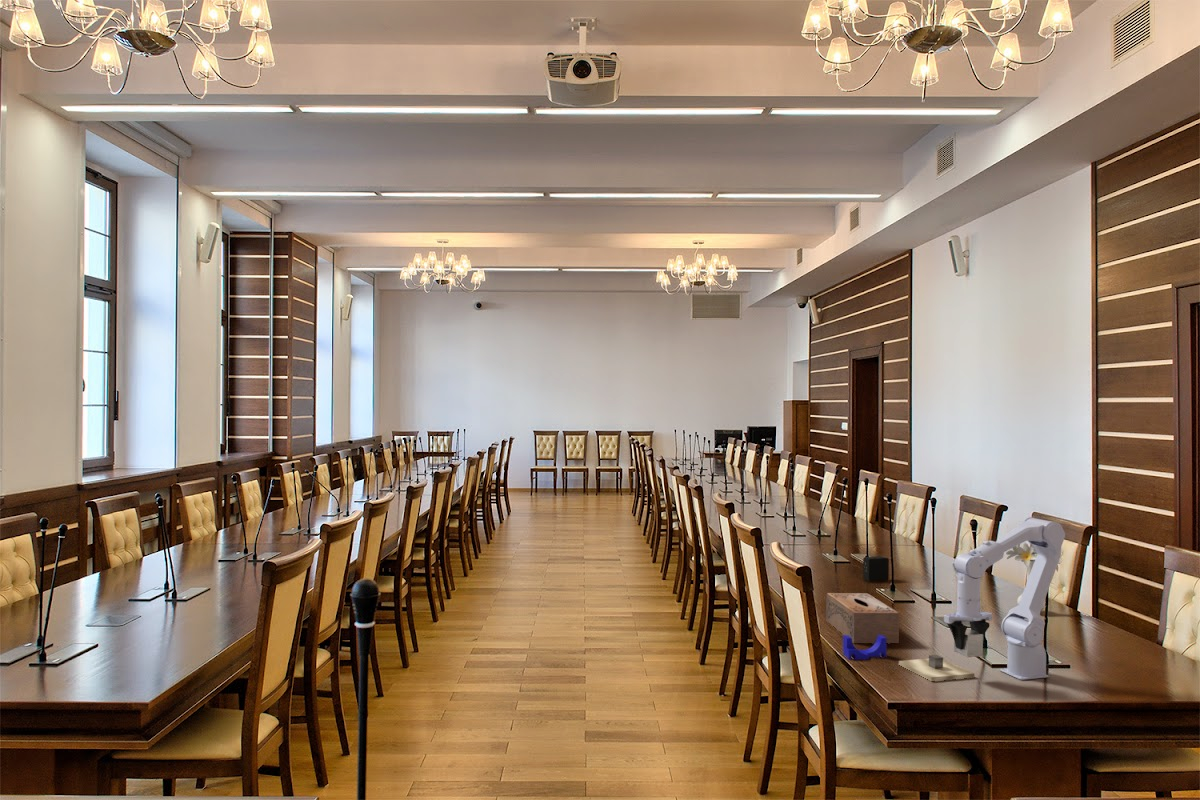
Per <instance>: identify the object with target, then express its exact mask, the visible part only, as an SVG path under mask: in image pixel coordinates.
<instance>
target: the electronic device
mask: <svg viewBox="0 0 1200 800" xmlns="http://www.w3.org/2000/svg"><path fill="white" fill-rule="evenodd" d="M862 560H863V561H862V563H863V564H862V580H863V581H866V582H868V581H869V583H874V582H873V581H882V582H888V581H889V579H890V577H889V576H890V575H889V572H890V571H889V569H890V567H889V565H890V561H889V560H890V558H889V557H886V556H881V555H879V556H877V555H876V556H864V557H863V559H862Z"/></svg>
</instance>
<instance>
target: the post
mask: <svg viewBox="0 0 1200 800" xmlns="http://www.w3.org/2000/svg"><path fill="white" fill-rule="evenodd" d="M928 658H929V666H930V667H932V668H934V669H940V668H943V659H944V657H942V656H940V655H938V654H931V655H928Z"/></svg>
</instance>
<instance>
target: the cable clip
mask: <svg viewBox="0 0 1200 800" xmlns="http://www.w3.org/2000/svg"><path fill="white" fill-rule="evenodd" d="M842 636H843V637H842V639H843V640H842V647H843V648H842V655H843V654H844V655H845V656H846V657H847V659H848V660H869V659H870V658H869V657H880V655H881V656H882V657H886V658H887V644H886V637H884V636H883V635H877V640H876V643H875V644H872V646H871V647H870V648H866V649H858V648H856V646H855V644H853V643H852V638H851V637H850V636H848V635H843V634H842ZM844 655H843V656H844ZM845 656H844V657H845ZM851 656H852V657H853V658H854V659H852V658H851ZM882 657H880V659H883V658H882Z"/></svg>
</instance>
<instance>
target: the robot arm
mask: <svg viewBox="0 0 1200 800" xmlns="http://www.w3.org/2000/svg"><path fill="white" fill-rule="evenodd" d="M1066 535H1067V534H1066V533H1065V530H1064V528H1063V527H1062V525H1061V524H1060V523H1059V522H1057V521H1055V520H1054V521H1050V520H1046V519H1040V518H1035V517H1032V516H1027V517H1026V518H1025V519H1023V520H1020V521H1019V522H1018V523H1017V526H1016V527H1014V528H1013V529H1012V530H1010V531H1009V532H1007V533H1005V534H1004V535H1003V536H1001V537H1000V538H998V539H997V540H995V541H994V540H984V541H982V544H981V545H979V546H978V547H976V548H974V549H971V550H969V552H967V553H960V554H959V555H958V556H956V557H955V559H954V562H952V568H953V570H954V571H955V575H956V580H957V586H956V588H957V592H956V593H957V594H956V595H957V596H956V597H957V599H956V612H951V613H950V614H944V615H943V622H944V623H946V624H947V626H948V628H949V630H950V632H951V635H952V637H953V640H954V641H955V646H956V648H958V649H961V650H963V648H964V637H965V632H966V629H968V626H966V625H964V624H963V623H966V622H968V623H969V625H970V629H971V630H974V631H976V632H979V633H981V634H983V637H984V636H985V635H986V632H987V631H988V629H989V628H990V622H992V621H993V613H991V612H987V611H981V577H984V575H985V573H986V570H987V569H989V567H991V566H993V565H994V564H996V563H997V562H999V561H1001V560H1002V559H1004V556H1005V555H1004V554H1005V552H1008V551H1010V550H1012V549H1013V547H1015V546H1018V545H1019V544H1020V545H1021V544H1024V543H1026V542H1028V543H1029V544H1030V545H1031V546H1032V547H1033V548H1035V550H1036V552H1037V556H1036V559H1035V562H1034V564H1033V567H1032V570H1031V573H1030V575H1029V578H1028V581H1027V580H1026V582H1027V583H1026V584H1025V586H1024V589H1023V591H1022V593H1023V594H1022V593H1021V594H1022V597H1021V600H1020V602H1019V605H1018V604H1017V605H1016V606H1014V607H1012V608H1010V609H1009V611H1008V613H1007V614H1006V616H1005V617H1004V618H1003V619H1002V622H1001V627H1000V629H1001V631H1002V633H1003V635H1004V636H1005V640H1007V642H1006V643H1007V647H1006V650H1007V652H1006V653H1007V656H1006V659H1007V663H1006V664H1007V665H1006V666H1007V667H1006V668H1005V667H1004V668H999V671H1000V672H1002V673H1004V674H1007V675H1009V676H1011V677H1013V678H1016V679H1018V680H1021V681H1024V680H1034V679H1045V678H1049V675H1048V674H1047V653H1046V649H1045V647H1044V645H1042V643H1041V642H1043V639H1044V628H1045V625H1046V622H1045V620H1044V619H1043V617H1042V615H1041V613H1040V611H1042V610H1041V608H1042V606H1043V603H1044V601H1045V600H1046V597H1047V594H1048V591H1049V588H1050V586H1051V583H1052V581H1053V578H1054V575H1055V574H1056V573H1055V572H1056V571H1057V570H1056V567H1057V565H1058V566H1059V564H1058V562H1059V559H1061V557H1062V555H1061V552H1062V546H1063V542H1064V540H1065V537H1066ZM1060 556H1061V557H1060ZM987 621H989V622H987ZM954 641H953V642H954Z"/></svg>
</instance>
